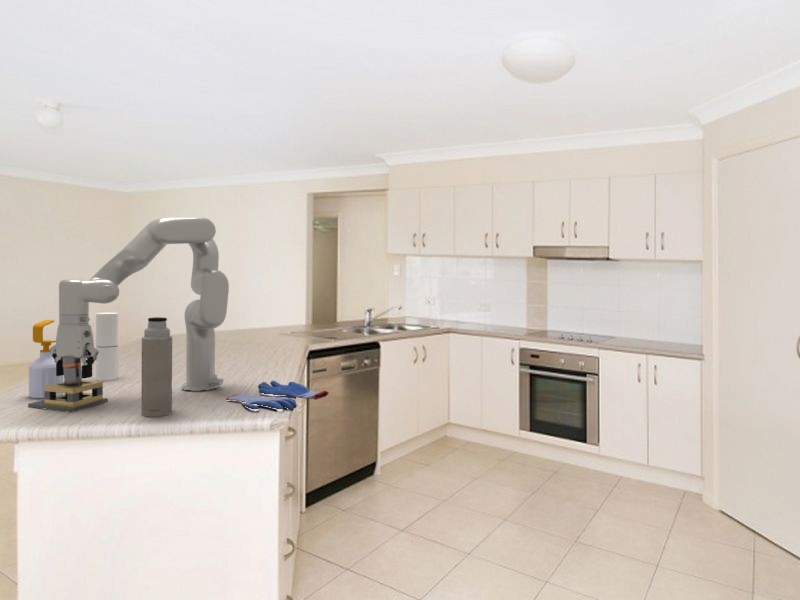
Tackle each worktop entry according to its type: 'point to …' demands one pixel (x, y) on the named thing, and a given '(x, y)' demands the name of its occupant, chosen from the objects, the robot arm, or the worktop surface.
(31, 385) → the soap bottle
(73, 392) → the tan frame fixture
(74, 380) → the tube
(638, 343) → the worktop surface
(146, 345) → the thermos bottle
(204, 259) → the robot arm
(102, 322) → the cylindrical container
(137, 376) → the worktop surface
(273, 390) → the pair of gloves
